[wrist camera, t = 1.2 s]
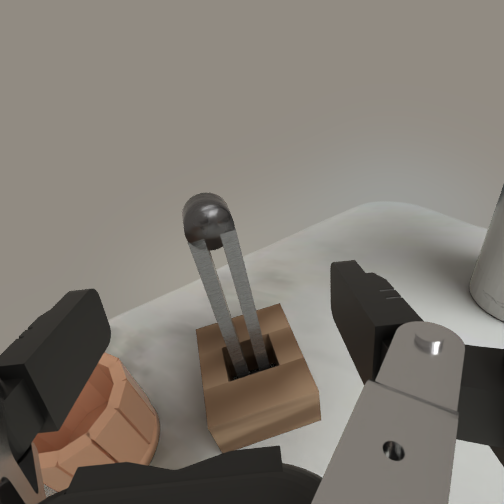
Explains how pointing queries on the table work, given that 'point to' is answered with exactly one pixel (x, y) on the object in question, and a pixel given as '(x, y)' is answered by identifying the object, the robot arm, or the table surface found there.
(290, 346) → the tongs stand
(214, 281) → the tongs
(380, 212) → the table surface
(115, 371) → the crock
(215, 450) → the table surface
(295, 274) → the table surface
